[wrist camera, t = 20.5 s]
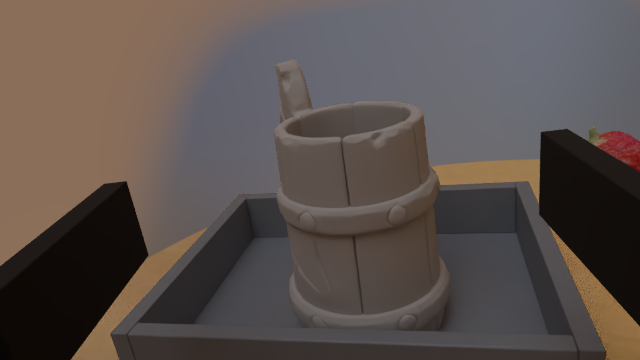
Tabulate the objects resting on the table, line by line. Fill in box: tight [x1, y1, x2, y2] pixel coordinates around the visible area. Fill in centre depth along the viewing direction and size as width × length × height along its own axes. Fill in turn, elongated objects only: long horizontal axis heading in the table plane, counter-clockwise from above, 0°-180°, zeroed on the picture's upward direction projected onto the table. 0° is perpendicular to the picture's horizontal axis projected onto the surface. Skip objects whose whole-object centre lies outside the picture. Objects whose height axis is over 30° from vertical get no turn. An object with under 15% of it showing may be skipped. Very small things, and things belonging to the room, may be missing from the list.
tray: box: [111, 181, 606, 360], centre depth 25 cm, size 19×15×4 cm
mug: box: [274, 60, 451, 331], centre depth 24 cm, size 8×12×12 cm, turn 26°
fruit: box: [588, 126, 640, 172], centre depth 32 cm, size 4×6×5 cm
